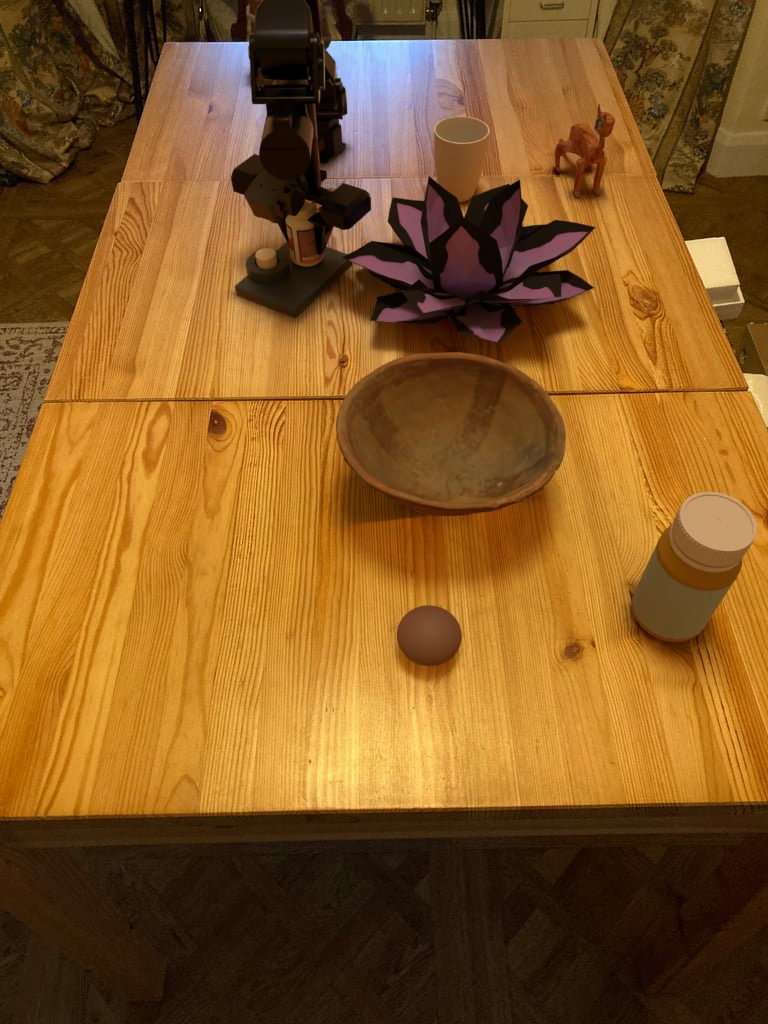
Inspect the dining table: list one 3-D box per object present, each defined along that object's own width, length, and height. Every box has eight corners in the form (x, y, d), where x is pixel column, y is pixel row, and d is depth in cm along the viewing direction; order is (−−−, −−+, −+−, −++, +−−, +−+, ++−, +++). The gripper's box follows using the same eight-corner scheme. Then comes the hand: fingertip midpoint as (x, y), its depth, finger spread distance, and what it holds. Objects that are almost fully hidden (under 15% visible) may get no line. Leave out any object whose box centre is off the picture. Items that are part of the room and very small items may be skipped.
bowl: (493, 606, 75) (505, 548, 67) (303, 509, 82) (293, 446, 75) (582, 462, 86) (601, 398, 78) (407, 389, 94) (409, 323, 86)
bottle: (621, 585, 76) (662, 490, 64) (689, 579, 77) (744, 484, 65) (641, 648, 72) (689, 559, 60) (713, 642, 72) (776, 552, 60)
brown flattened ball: (452, 614, 75) (455, 592, 71) (466, 669, 71) (469, 649, 68) (391, 622, 74) (391, 601, 71) (402, 678, 70) (402, 658, 67)
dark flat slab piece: (231, 292, 106) (227, 274, 103) (290, 241, 113) (288, 223, 110) (295, 318, 102) (293, 299, 100) (352, 264, 109) (351, 245, 107)
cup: (483, 180, 123) (489, 117, 115) (482, 208, 118) (489, 144, 110) (432, 178, 123) (435, 115, 115) (429, 206, 118) (432, 142, 110)
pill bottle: (330, 252, 108) (325, 197, 102) (314, 271, 106) (308, 215, 99) (300, 244, 110) (294, 189, 103) (284, 262, 107) (276, 207, 100)
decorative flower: (333, 368, 96) (317, 260, 85) (367, 236, 117) (358, 135, 106) (596, 373, 92) (615, 261, 81) (583, 236, 113) (597, 131, 102)
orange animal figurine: (540, 148, 129) (553, 60, 118) (577, 144, 129) (594, 57, 118) (572, 206, 118) (590, 115, 107) (613, 202, 118) (635, 111, 107)
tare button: (252, 265, 105) (251, 255, 104) (265, 255, 106) (263, 245, 105) (269, 272, 104) (267, 262, 103) (281, 261, 105) (280, 251, 104)
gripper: (192, 145, 93) (216, 257, 105) (319, 187, 87) (329, 301, 99) (249, 107, 99) (265, 217, 111) (372, 144, 93) (374, 257, 105)
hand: (305, 248), depth 106 cm, fingers closed on pill bottle, 5 cm apart
